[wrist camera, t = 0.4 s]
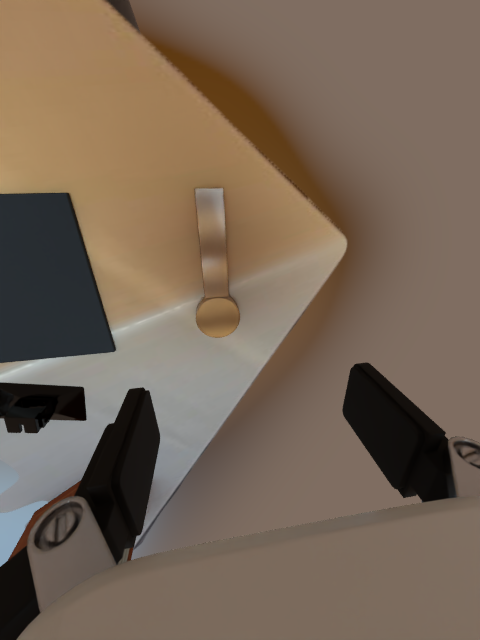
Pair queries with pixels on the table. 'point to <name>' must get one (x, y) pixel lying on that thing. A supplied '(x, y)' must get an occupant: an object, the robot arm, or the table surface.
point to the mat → (46, 282)
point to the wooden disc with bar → (214, 266)
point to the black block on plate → (39, 405)
